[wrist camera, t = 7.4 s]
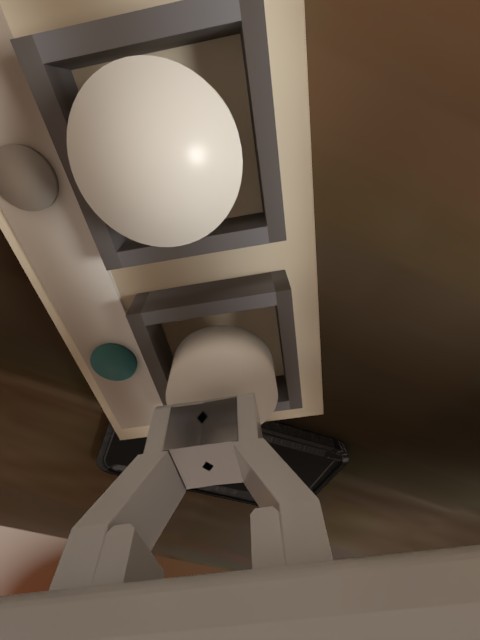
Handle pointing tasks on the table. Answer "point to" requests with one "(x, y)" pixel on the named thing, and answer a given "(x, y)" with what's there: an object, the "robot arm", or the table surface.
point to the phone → (290, 444)
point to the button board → (150, 261)
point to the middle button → (154, 151)
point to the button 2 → (223, 368)
